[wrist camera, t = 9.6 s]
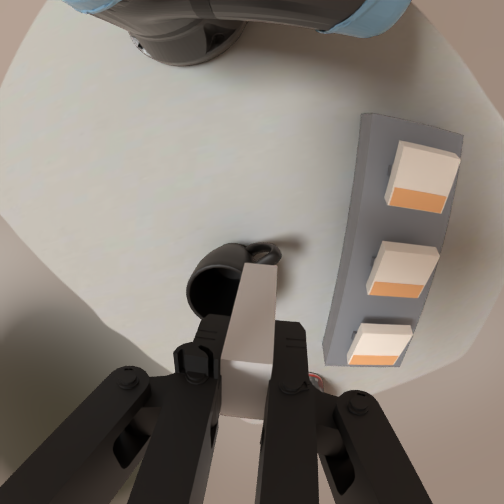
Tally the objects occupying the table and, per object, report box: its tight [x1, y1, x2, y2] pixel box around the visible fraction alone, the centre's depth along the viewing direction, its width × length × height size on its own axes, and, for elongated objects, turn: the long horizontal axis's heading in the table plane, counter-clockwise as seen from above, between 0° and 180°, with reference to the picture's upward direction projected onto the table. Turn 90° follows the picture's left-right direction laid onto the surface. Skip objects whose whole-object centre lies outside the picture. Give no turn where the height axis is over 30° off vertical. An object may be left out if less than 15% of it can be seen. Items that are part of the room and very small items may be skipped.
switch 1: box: [384, 140, 461, 214], centre depth 31 cm, size 7×7×2 cm
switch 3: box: [347, 323, 413, 365], centre depth 39 cm, size 7×7×2 cm
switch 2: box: [366, 241, 440, 298], centre depth 35 cm, size 7×7×2 cm
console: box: [322, 113, 464, 367], centre depth 39 cm, size 34×12×6 cm, turn 176°
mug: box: [186, 243, 282, 319], centre depth 39 cm, size 8×12×10 cm
